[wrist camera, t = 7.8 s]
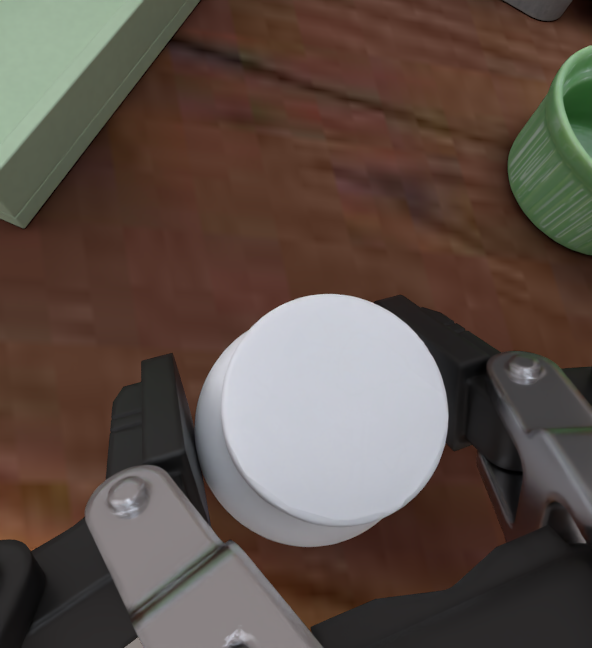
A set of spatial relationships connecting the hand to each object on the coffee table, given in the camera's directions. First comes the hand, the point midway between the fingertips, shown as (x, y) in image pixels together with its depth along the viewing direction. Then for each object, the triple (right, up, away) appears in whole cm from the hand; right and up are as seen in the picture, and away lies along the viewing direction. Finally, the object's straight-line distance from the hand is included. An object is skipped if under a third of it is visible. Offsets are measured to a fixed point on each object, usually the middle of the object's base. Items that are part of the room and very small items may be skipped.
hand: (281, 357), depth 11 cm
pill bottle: (0, -3, +5) cm, 6 cm away
